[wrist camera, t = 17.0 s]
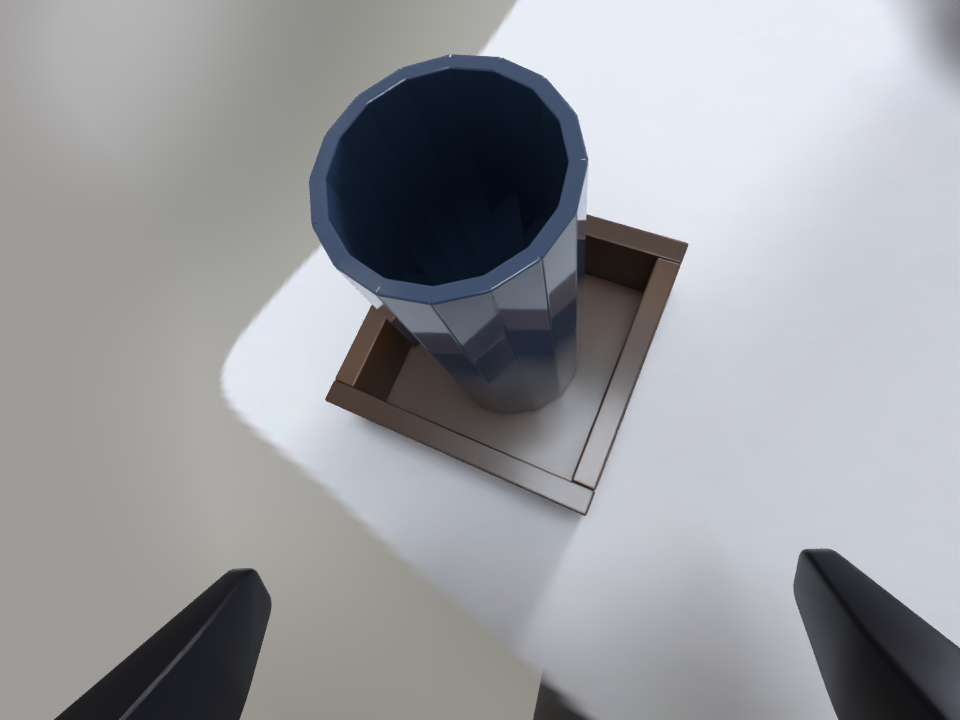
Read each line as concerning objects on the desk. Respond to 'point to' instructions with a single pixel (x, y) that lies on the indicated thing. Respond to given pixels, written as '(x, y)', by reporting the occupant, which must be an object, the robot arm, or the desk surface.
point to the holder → (560, 423)
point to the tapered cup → (464, 221)
